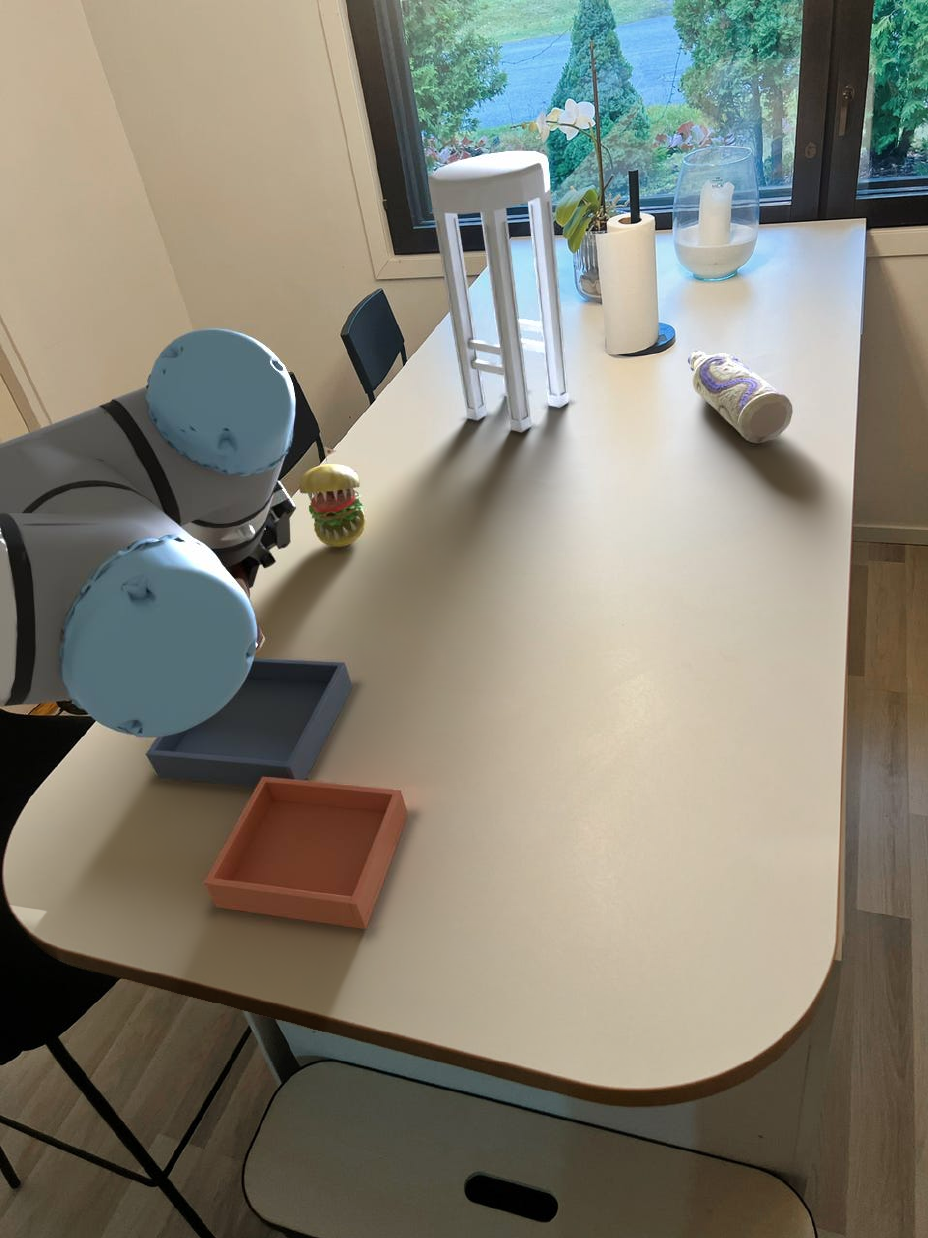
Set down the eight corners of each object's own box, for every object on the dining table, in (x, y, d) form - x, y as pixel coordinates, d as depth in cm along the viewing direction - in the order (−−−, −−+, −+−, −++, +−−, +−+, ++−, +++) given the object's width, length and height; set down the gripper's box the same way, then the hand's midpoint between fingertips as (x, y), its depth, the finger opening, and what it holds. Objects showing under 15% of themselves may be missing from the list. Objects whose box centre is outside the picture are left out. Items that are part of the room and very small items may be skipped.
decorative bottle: (794, 437, 116) (798, 390, 112) (740, 450, 116) (741, 403, 112) (718, 368, 137) (718, 326, 133) (671, 379, 136) (670, 337, 132)
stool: (513, 382, 145) (483, 149, 124) (587, 398, 135) (569, 149, 114) (449, 420, 137) (405, 178, 116) (523, 441, 128) (490, 181, 106)
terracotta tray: (216, 907, 71) (202, 883, 69) (272, 800, 79) (262, 776, 77) (366, 929, 67) (356, 904, 65) (408, 815, 75) (401, 789, 73)
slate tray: (157, 777, 84) (145, 754, 82) (224, 678, 95) (214, 655, 93) (300, 791, 80) (290, 767, 78) (353, 686, 90) (345, 662, 88)
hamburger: (309, 554, 112) (283, 471, 105) (321, 524, 118) (297, 444, 110) (367, 549, 111) (345, 465, 104) (377, 519, 116) (356, 437, 109)
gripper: (93, 619, 54) (113, 689, 75) (370, 483, 62) (318, 580, 83) (32, 517, 54) (69, 615, 75) (314, 396, 63) (277, 514, 84)
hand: (200, 597), depth 79 cm, fingers closed on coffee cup, 8 cm apart
